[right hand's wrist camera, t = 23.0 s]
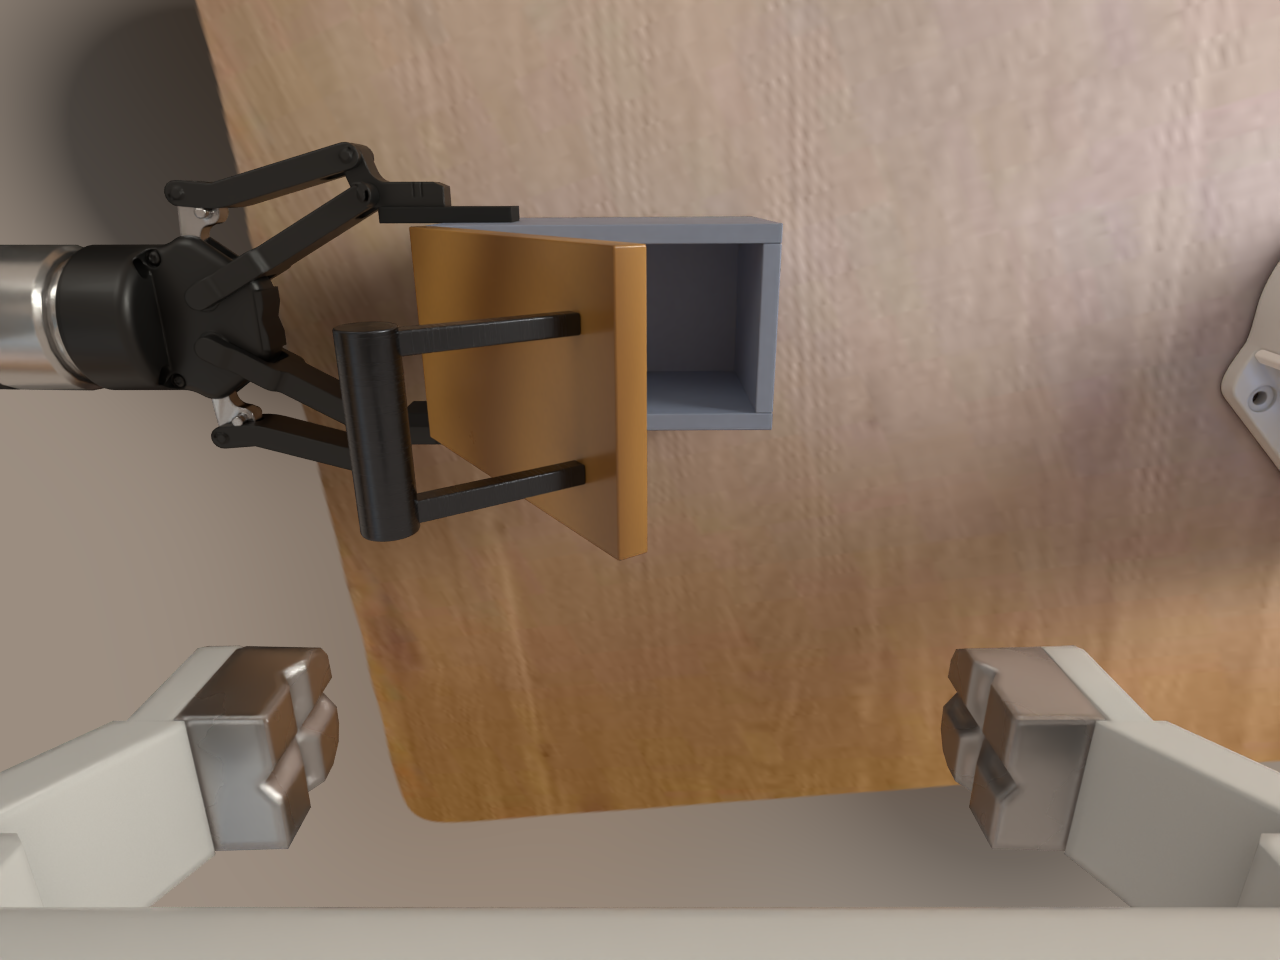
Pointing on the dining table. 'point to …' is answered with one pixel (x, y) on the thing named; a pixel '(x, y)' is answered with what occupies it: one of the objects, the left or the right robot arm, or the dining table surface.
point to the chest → (696, 312)
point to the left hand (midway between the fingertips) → (520, 318)
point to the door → (509, 384)
